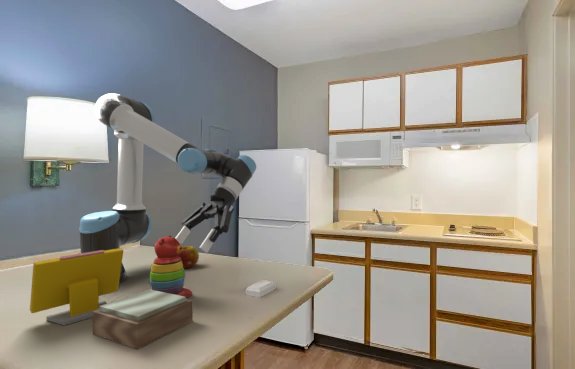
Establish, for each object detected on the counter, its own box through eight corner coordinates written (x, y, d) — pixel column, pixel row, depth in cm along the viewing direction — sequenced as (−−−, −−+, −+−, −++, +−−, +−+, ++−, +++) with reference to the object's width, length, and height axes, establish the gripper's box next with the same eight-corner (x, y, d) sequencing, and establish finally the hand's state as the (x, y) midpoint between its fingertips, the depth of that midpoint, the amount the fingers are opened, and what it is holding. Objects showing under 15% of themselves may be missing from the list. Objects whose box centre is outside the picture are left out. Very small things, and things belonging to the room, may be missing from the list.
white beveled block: (245, 296, 99) (245, 286, 99) (262, 287, 107) (262, 278, 106) (259, 298, 96) (259, 289, 96) (276, 289, 104) (275, 280, 104)
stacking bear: (175, 307, 90) (173, 240, 90) (141, 305, 92) (139, 239, 92) (194, 293, 101) (193, 233, 100) (163, 292, 103) (162, 233, 102)
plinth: (92, 334, 75) (92, 307, 75) (150, 310, 88) (149, 287, 88) (137, 349, 67) (136, 319, 67) (192, 321, 80) (192, 296, 80)
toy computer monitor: (116, 300, 96) (114, 245, 96) (129, 306, 91) (127, 248, 91) (30, 324, 81) (28, 258, 81) (40, 333, 76) (38, 263, 76)
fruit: (168, 269, 130) (168, 248, 130) (182, 263, 139) (182, 244, 139) (190, 270, 127) (190, 249, 127) (203, 264, 136) (202, 245, 136)
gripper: (259, 202, 105) (224, 260, 94) (208, 200, 121) (172, 250, 109) (246, 185, 101) (207, 244, 89) (195, 186, 116) (156, 236, 105)
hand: (188, 247), depth 99 cm, fingers open, 13 cm apart
